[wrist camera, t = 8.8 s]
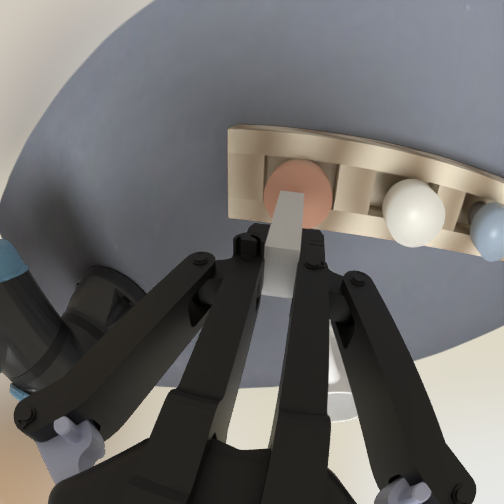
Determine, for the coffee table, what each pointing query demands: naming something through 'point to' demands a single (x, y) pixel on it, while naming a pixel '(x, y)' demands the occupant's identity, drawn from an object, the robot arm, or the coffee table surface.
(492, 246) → the slate ball
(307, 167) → the terracotta ball
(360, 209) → the three-ball wooden rack
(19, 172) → the coffee table surface
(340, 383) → the mug
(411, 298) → the coffee table surface
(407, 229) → the cream rounded piece
